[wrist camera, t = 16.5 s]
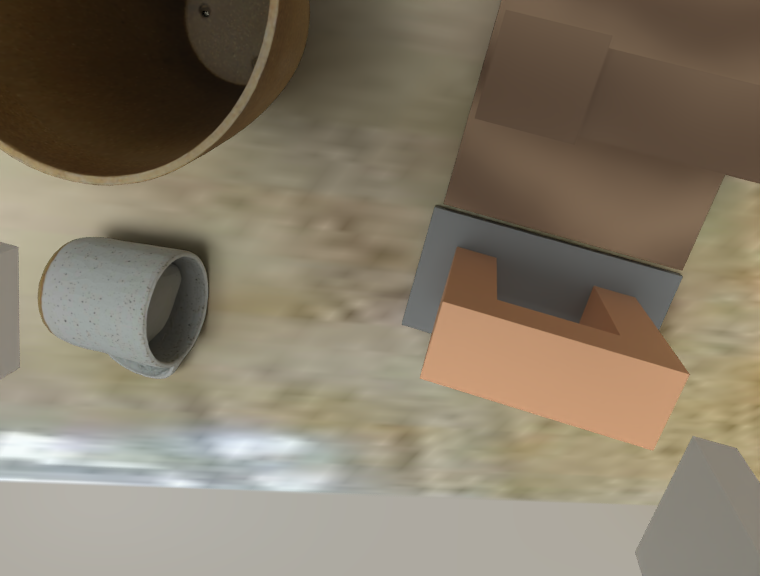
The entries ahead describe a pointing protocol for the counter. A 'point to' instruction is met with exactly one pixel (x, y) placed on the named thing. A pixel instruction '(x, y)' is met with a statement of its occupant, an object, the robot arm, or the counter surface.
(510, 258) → the mat
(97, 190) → the counter surface
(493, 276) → the orange notched block
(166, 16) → the plant pot
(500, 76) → the hook stand
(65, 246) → the ceramic mug
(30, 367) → the counter surface
